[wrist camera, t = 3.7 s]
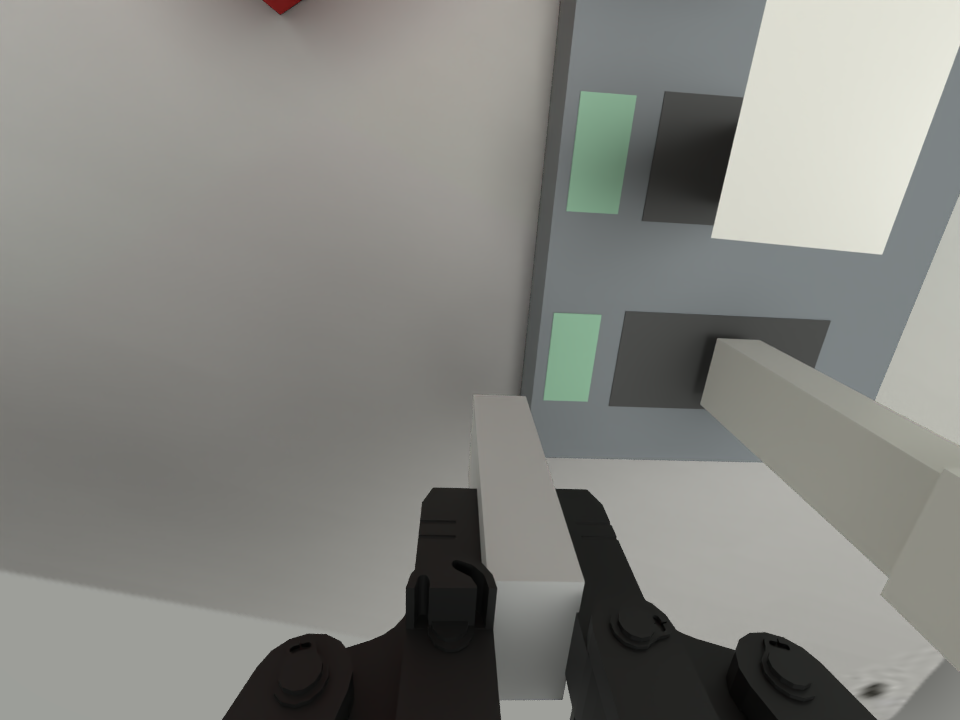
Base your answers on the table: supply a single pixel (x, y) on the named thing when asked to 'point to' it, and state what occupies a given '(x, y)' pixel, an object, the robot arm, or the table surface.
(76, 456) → the table surface
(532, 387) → the breaker panel
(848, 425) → the handle
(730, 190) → the handle
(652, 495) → the table surface
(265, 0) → the fire alarm
